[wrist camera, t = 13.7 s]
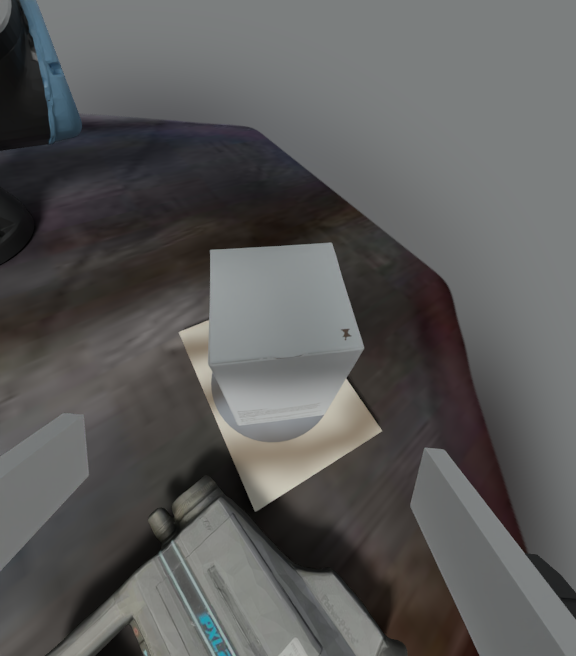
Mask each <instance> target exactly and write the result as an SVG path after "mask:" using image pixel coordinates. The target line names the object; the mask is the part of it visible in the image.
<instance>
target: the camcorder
mask: <svg viewBox="0 0 576 656" xmlns="http://www.w3.org/2000/svg"><path fill="white" fill-rule="evenodd" d="M172 511H173V514H174V518H173V517H171V516H170V514H169V513H168V512H167V511H166V510H165V509H164V508H157V509H156V510H155V511H154V512H153V513H151V515H150V516H149V518H148V522H149V524H150V526H151V528H152V531H153V533H154V534H155V536H156V538H157V539H158V540H159V541H160V542H161V550H160V551H159V552H158V553H157V554H156V555H155V556H153V557H152V558H151V559H149V560H148V561H146V562H145V563H144V564H143V565H142V566H140V567H139V568H138V569H137V570H136V571H135V572H134V573H133V574H132V575H131V576H130V577H129V578H128V579H127V580H126V582H125V583H124V584H123V585H122V586H121V587H120V588H119V589H118V590H117V591H116V592H115V593H113V594H112V595H111V596H110V597H109V598H108V599H107V600H106V601H105V602H104V603H103V604H101V605H100V606H99V607H98V608H97V609H96V610H95V611H94V612H93V613H91V614H90V615H89V616H88V617H87V618H86V619H84V620H83V621H82V622H81V623H80V624H79V625H78V626H77V627H76V628H75V629H74V630H73V631H72V632H71V633H70V634H69V635H68V636H67V637H66V638H65V639H64V640H63V641H61V642H60V643H59V644H58V645H57V646H56V647H55V648H54V649H52V650H51V651H50V652H49V653H48V654H46V655H45V656H95V655H96V654H97V653H98V652H99V651H100V650H101V649H103V648H104V647H105V646H106V645H107V644H108V643H109V642H110V641H111V640H112V639H113V638H114V637H115V636H116V635H117V634H118V633H119V632H120V631H121V630H122V629H123V628H124V627H125V626H126V625H130V627H131V628H132V630H133V632H134V635H135V637H136V639H137V641H138V643H139V646H140V649H141V651H142V653H143V655H144V656H407V649H406V647H405V645H404V644H403V643H402V642H400V641H398V640H394V639H390V638H388V637H387V636H386V635H385V634H384V633H383V632H382V630H381V629H380V627H379V626H378V624H377V623H376V621H375V620H374V619H373V618H372V616H371V615H370V613H369V612H368V610H367V609H366V607H365V606H364V605H363V603H362V602H361V601H360V600H359V598H358V597H357V596H356V595H355V593H354V592H353V591H352V590H351V589H350V588H349V587H348V585H347V584H346V583H345V582H344V580H343V579H342V578H341V577H340V576H339V575H338V574H337V573H336V572H335V571H334V570H332V569H331V568H329V567H327V568H324V569H320V570H317V569H313V568H305V567H302V566H299V565H297V564H295V563H293V562H292V561H291V560H290V559H289V558H287V557H286V556H285V555H284V554H283V553H282V552H281V551H280V550H279V549H278V548H277V547H276V546H275V544H274V543H273V542H272V541H271V540H270V539H269V538H268V537H267V536H266V535H265V534H264V533H263V532H262V531H261V529H260V528H259V527H258V526H257V525H256V524H255V522H254V521H253V520H252V519H251V518H250V517H249V515H248V514H247V513H245V512H244V511H243V510H242V509H241V508H240V507H239V506H238V505H237V504H236V503H235V502H234V501H233V500H232V499H231V498H229V497H227V496H226V495H225V494H224V493H223V492H222V490H221V489H220V488H219V487H218V486H217V484H216V483H215V481H214V480H213V479H212V478H210V477H209V476H208V475H205V476H203V477H202V478H201V479H200V480H199V481H197V482H196V483H195V484H194V485H193V486H192V487H190V488H189V489H187V490H186V491H185V492H183V493H182V494H181V495H180V496H179V497H178V498H177V499H176V500H175V501H174V503H173V504H172Z"/></svg>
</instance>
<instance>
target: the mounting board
mask: <svg viewBox="0 0 576 656" xmlns="http://www.w3.org/2000/svg"><path fill="white" fill-rule="evenodd" d="M179 334H180V336H181V339H182V341H183V343H184V346H185V348H186V351H187V353H188V355H189V358H190V360H191V362H192V365H193V367H194V369H195V372H196V374H197V376H198V379H199V381H200V384H201V386H202V388H203V391H204V393H205V395H206V398H207V400H208V402H209V405H210V407H211V409H212V412H213V414H214V417H215V419H216V421H217V424H218V426H219V428H220V431H221V433H222V435H223V438H224V440H225V442H226V445H227V447H228V450H229V452H230V454H231V457H232V459H233V461H234V464H235V466H236V468H237V471H238V473H239V475H240V478H241V480H242V483H243V485H244V487H245V490H246V492H247V494H248V497H249V499H250V501H251V504H252V506H253V508H254V511H255V512H256V511H258V510H259V509H261V508H263V507H264V506H266V505H267V504H269V503H270V502H272V501H273V500H275V499H277V498H278V497H280V496H281V495H283V494H284V493H286V492H288V491H289V490H291V489H292V488H294V487H295V486H297V485H298V484H300V483H302V482H303V481H305V480H306V479H308V478H309V477H311V476H313V475H314V474H316V473H317V472H319V471H320V470H322V469H324V468H325V467H327V466H328V465H330V464H331V463H333V462H334V461H336V460H338V459H339V458H341V457H342V456H344V455H345V454H347V453H349V452H350V451H352V450H353V449H355V448H356V447H358V446H359V445H361V444H363V443H364V442H366V441H367V440H369V439H370V438H372V437H374V436H375V435H377V434H378V433H380V432H381V431H382V430H381V429H380V427H379V426H378V424H377V423H376V421H375V420H374V418H373V417H372V415H371V414H370V412H369V411H368V409H367V408H366V406H365V405H364V404H363V402H362V401H361V399H360V398H359V396H358V395H357V393H356V392H355V390H354V389H353V387H352V386H351V384H350V383H349V382H348V380H347V379H345V381H344V383H343V385H342V386H341V388H340V390H339V391H338V393H337V395H336V396H335V398H334V400H333V401H332V403H331V405H330V406H329V408H328V410H327V411H326V413H325V414H324V415H321V416H313V417H305V418H297V419H290V420H282V421H274V422H266V423H258V424H250V425H242V426H239V425H237V423H236V420H235V418H234V416H233V414H232V412H231V410H230V407H229V405H228V403H227V401H226V399H225V397H224V395H223V393H222V390H221V388H220V386H219V384H218V382H217V380H216V378H215V376H214V374H213V372H212V370H211V368H210V367H209V365H208V341H209V320H207V321H205V322H203V323H200V324H198V325H195V326H193V327H190V328H188V329H185V330H183V331H180V332H179Z"/></svg>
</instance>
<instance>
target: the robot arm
mask: <svg viewBox="0 0 576 656" xmlns="http://www.w3.org/2000/svg"><path fill="white" fill-rule="evenodd" d="M81 129H82V122H81V119H80V116H79V113H78V110H77V108H76V105H75V102H74V100H73V97H72V94H71V92H70V89H69V86H68V84H67V82H66V79H65V76H64V73H63V71H62V68H61V65H60V62H59V60H58V57H57V55H56V52H55V49H54V46H53V44H52V41H51V38H50V36H49V33H48V30H47V28H46V25H45V23H44V20H43V17H42V14H41V12H40V9H39V6H38V4H37V1H36V0H0V151H2V150H9V149H16V148H23V147H30V146H37V145H44V144H53V143H54V142H56V141H60V140H64V139H69V138H73V137H76V136H77V135H78V134H79V133H80V132H81ZM33 231H34V219H33V217H32V215H31V214H30V213H29V212H28V210H27V209H26V208H25V207H24V206H23V204H22V203H21V202H20V201H19V200H18V199H17V198H15V197H14V196H13V195H11V194H10V193H8V192H7V191H5V190H4V189H3V188H1V187H0V264H2V263H4V262H5V261H7V260H8V259H10V258H11V257H13V256H14V255H15V254H17V253H18V252H19V251H20V250H21V249H22V248H23V247H24V246H25V245H26V244H27V242H28V241H29V240H30V238H31V236H32V234H33ZM88 476H89V471H88V459H87V448H86V436H85V424H84V415H80V414H70V413H63V414H61V415H60V416H58V417H57V418H56V419H54V420H53V421H51V422H50V423H48V424H47V425H45V426H44V427H42V428H41V429H40V430H38V431H37V432H35V433H34V434H32V435H31V436H29V437H28V438H27V439H25V440H24V441H22V442H21V443H19V444H18V445H16V446H15V447H13V448H12V449H11V450H9V451H8V452H6V453H5V454H3V455H2V456H0V571H1V570H2V569H3V568H4V567H5V565H6V564H7V563H8V562H9V561H10V560H11V559H12V558H13V557H14V556H15V555H16V554H17V552H18V551H19V550H20V549H21V548H22V547H23V546H24V545H25V544H26V543H27V542H28V541H29V540H30V538H31V537H32V536H33V535H34V534H35V533H36V532H37V531H38V530H39V529H40V528H41V527H42V526H43V524H44V523H45V522H46V521H47V520H48V519H49V518H50V517H51V516H52V515H53V514H54V513H55V511H56V510H57V509H58V508H59V507H60V506H61V505H62V504H63V503H64V502H65V501H66V500H67V499H68V497H69V496H70V495H71V494H72V493H73V492H74V491H75V490H76V489H77V488H78V487H79V486H80V484H81V483H82V482H83V481H84V480H85V479H86V478H87V477H88ZM410 507H411V509H412V511H413V513H414V515H415V518H416V520H417V522H418V524H419V526H420V528H421V530H422V533H423V535H424V537H425V539H426V541H427V543H428V546H429V548H430V550H431V552H432V554H433V556H434V558H435V561H436V563H437V565H438V567H439V569H440V571H441V573H442V576H443V578H444V580H445V582H446V584H447V586H448V589H449V591H450V593H451V595H452V597H453V599H454V601H455V604H456V606H457V608H458V610H459V612H460V614H461V617H462V619H463V621H464V623H465V625H466V627H467V629H468V632H469V634H470V636H471V638H472V640H473V642H474V644H475V647H476V649H477V651H478V653H479V655H480V656H576V593H575V591H574V590H573V589H572V588H571V587H570V585H569V584H568V583H567V582H566V581H565V580H564V578H563V577H562V576H561V575H560V574H559V573H558V572H557V571H556V570H554V569H553V568H552V567H550V565H549V564H547V563H546V562H545V561H544V560H543V559H542V558H540V557H539V556H538V555H535V554H525V553H524V552H523V551H522V549H521V548H520V547H519V546H518V544H517V543H516V542H515V540H514V539H513V538H512V537H511V535H510V534H509V533H508V531H507V530H506V529H505V528H504V526H503V525H502V524H501V522H500V521H499V520H498V518H497V517H496V516H495V515H494V513H493V512H492V511H491V509H490V508H489V507H488V506H487V504H486V503H485V502H484V500H483V499H482V498H481V497H480V495H479V494H478V493H477V491H476V490H475V489H474V487H473V486H472V485H471V484H470V482H469V481H468V480H467V478H466V477H465V476H464V475H463V473H462V472H461V471H460V469H459V468H458V467H457V466H456V464H455V463H454V462H453V460H452V459H451V458H450V456H449V455H448V454H447V453H446V451H445V450H443V449H433V448H424V452H423V456H422V460H421V464H420V468H419V472H418V476H417V480H416V484H415V488H414V492H413V496H412V500H411V504H410Z"/></svg>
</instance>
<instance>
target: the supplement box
mask: <svg viewBox="0 0 576 656" xmlns="http://www.w3.org/2000/svg"><path fill="white" fill-rule="evenodd" d="M363 350H364V346H363V342H362V339H361V336H360V333H359V329H358V326H357V323H356V320H355V317H354V313H353V310H352V307H351V304H350V301H349V297H348V294H347V291H346V288H345V285H344V282H343V278H342V275H341V271H340V268H339V264H338V261H337V257H336V254H335V251H334V248H333V244H332V243H319V244H303V245H288V246H272V247H254V248H237V249H218V250H210V314H209V341H208V365H209V367H210V368H211V370H212V372H213V374H214V376H215V378H216V380H217V382H218V384H219V386H220V388H221V390H222V393H223V395H224V397H225V399H226V401H227V403H228V405H229V407H230V410H231V412H232V414H233V416H234V418H235V420H236V423H237V425H239V426H242V425H250V424H258V423H266V422H274V421H282V420H290V419H297V418H305V417H313V416H321V415H324V414H325V413H326V411H327V410H328V408H329V406H330V405H331V403H332V401H333V400H334V398H335V396H336V395H337V393H338V391H339V390H340V388H341V386H342V385H343V383H344V381H345V379H346V378H347V376H348V374H349V373H350V371H351V369H352V368H353V366H354V364H355V363H356V361H357V359H358V358H359V356H360V354H361V353H362V351H363Z"/></svg>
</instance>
